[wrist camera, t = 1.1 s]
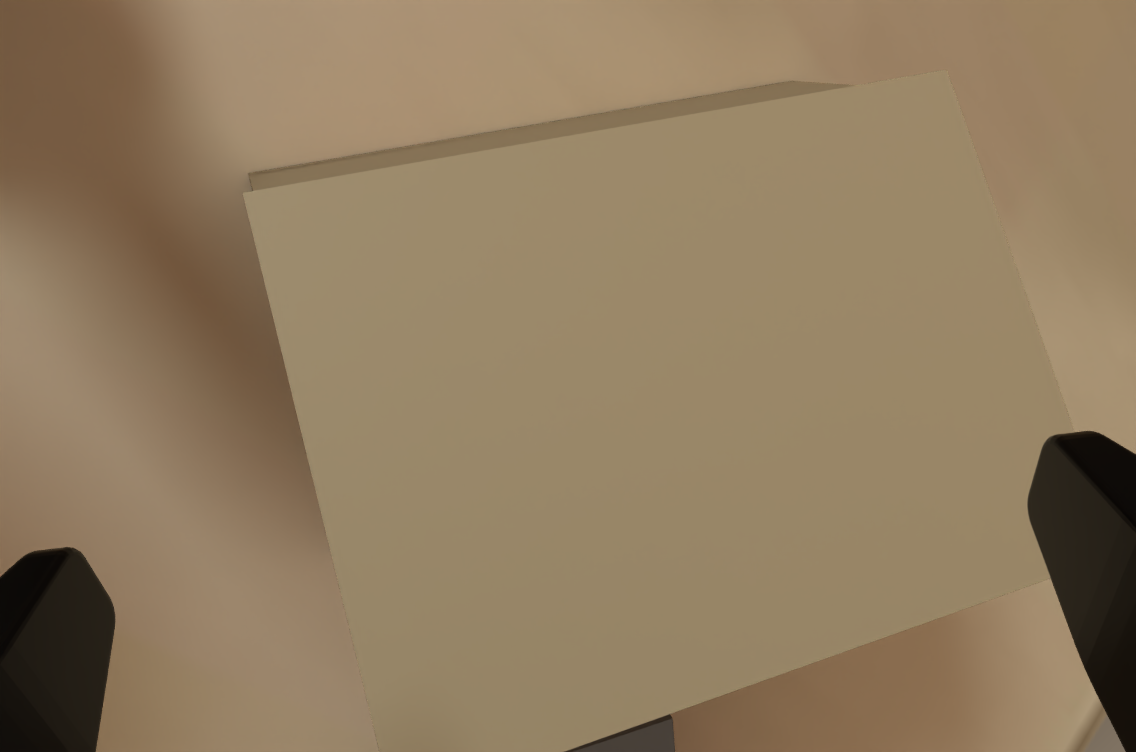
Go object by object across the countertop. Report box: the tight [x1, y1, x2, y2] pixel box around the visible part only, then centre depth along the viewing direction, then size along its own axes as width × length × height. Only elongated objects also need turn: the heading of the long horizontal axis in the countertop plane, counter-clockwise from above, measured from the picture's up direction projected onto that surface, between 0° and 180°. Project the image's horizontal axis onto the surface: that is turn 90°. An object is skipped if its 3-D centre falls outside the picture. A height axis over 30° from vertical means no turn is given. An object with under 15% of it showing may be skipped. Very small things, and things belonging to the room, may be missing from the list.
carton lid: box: [243, 70, 1075, 752], centre depth 18 cm, size 10×14×1 cm
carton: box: [248, 81, 856, 191], centre depth 23 cm, size 10×14×5 cm
